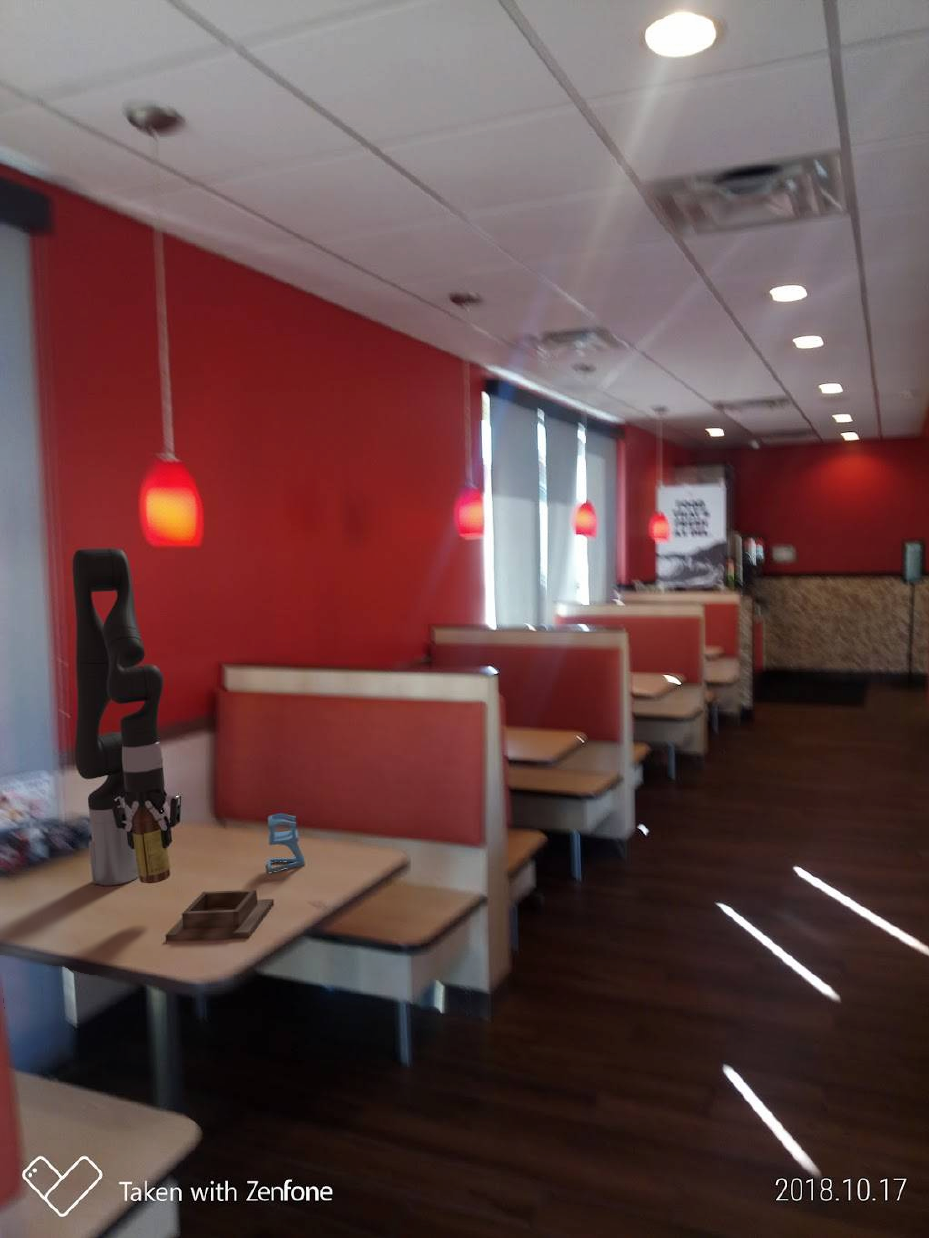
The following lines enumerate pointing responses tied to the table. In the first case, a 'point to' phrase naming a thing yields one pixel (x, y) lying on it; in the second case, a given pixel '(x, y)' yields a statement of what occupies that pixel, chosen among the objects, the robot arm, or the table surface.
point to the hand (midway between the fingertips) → (150, 847)
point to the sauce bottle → (149, 844)
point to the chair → (284, 841)
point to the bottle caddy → (221, 916)
